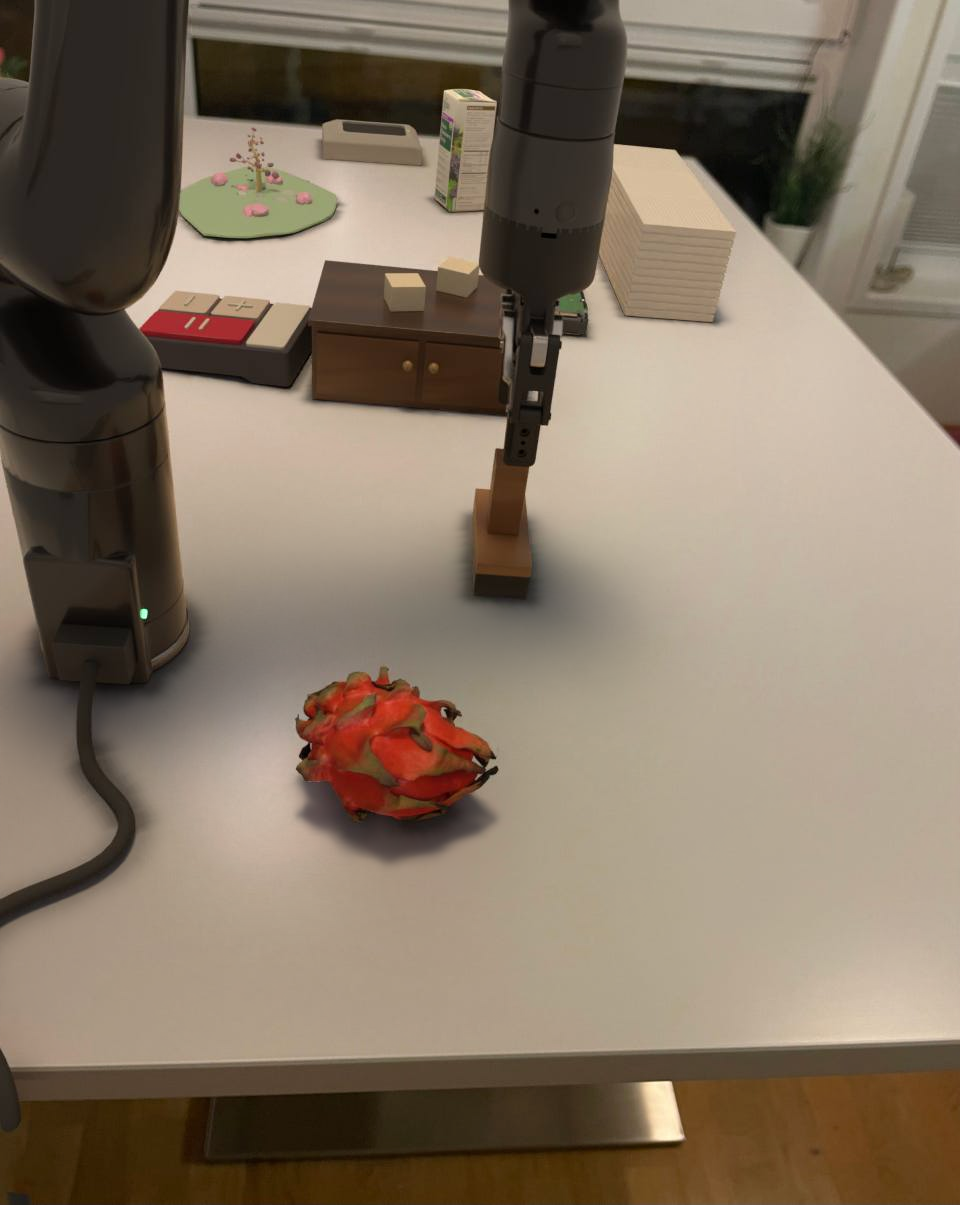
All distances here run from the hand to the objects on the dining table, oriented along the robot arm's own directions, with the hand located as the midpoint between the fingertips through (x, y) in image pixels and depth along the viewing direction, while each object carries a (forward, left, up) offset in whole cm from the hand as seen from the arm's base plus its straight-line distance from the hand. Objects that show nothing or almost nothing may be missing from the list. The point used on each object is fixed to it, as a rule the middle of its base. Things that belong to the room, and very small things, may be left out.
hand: (514, 432), depth 73 cm
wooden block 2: (+33, +4, -3) cm, 33 cm away
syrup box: (+84, +3, -11) cm, 84 cm away
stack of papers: (+66, -21, -11) cm, 70 cm away
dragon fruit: (-24, +7, -11) cm, 28 cm away
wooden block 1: (+28, +9, -3) cm, 29 cm away
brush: (0, 0, -11) cm, 11 cm away
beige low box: (+105, +17, -11) cm, 106 cm away
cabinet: (+30, +7, -11) cm, 32 cm away
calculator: (+31, +26, -11) cm, 42 cm away
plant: (+74, +30, -11) cm, 80 cm away
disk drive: (+50, -6, -11) cm, 51 cm away
